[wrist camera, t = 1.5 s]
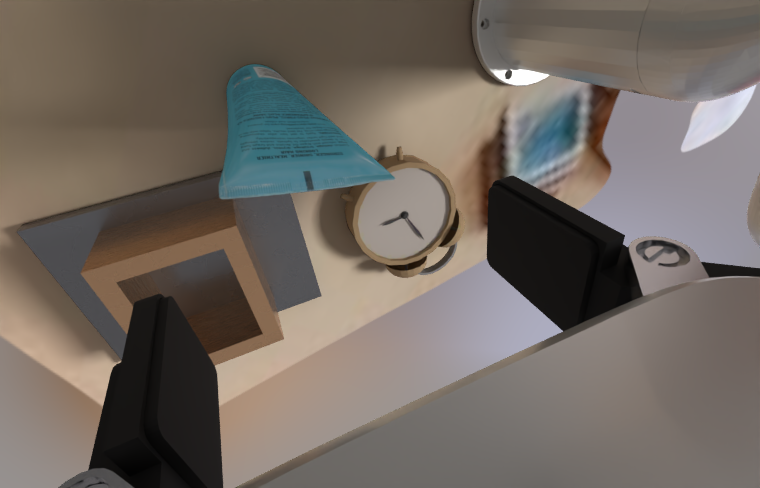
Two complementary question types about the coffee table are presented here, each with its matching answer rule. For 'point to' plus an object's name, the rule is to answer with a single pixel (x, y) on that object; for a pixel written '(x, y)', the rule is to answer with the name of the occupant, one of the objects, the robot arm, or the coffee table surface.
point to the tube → (285, 142)
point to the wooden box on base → (182, 262)
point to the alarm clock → (405, 216)
